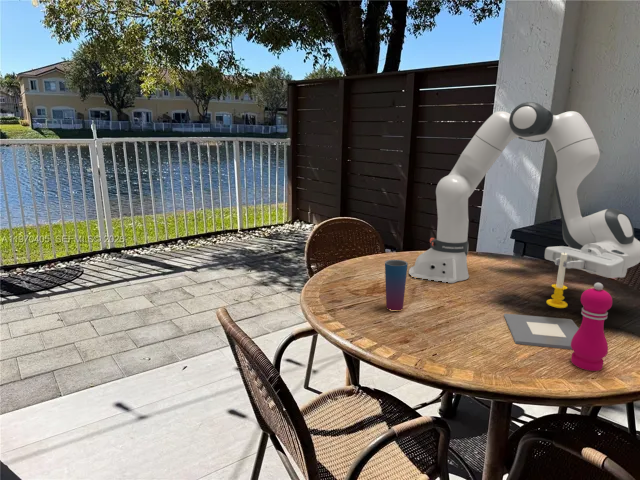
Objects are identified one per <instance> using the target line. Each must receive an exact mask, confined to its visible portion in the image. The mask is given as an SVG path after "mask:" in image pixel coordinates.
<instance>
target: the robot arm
mask: <svg viewBox="0 0 640 480" xmlns="http://www.w3.org/2000/svg"><path fill="white" fill-rule="evenodd" d="M517 138H518V139H519V140H524V141H529V142H535V143H539V142H543V141H546V140H548V141H549V143H550V144H551V146H552V149H553V151H554V154H555V157H556V163H557V168H556V169H557V170H556V174H555V176H554V180H553V181H554V188H555V189H554V190H555V194H556V198H557V204H558V209H559V215H560V217H561V225H562V227H561V228H562V238H563V241H564V243H565V244H566V245H568V246H564V245H559V246H558V245H557V246H547V247H546V248H545V250H544V260H547V261H551V262H553V263H554V264H555V266H559V265H560V257H561V253H564V252H565V253H567V261H564V265H563V267H565V268H566V269H575V270H576V269H577V270H581V271H584V272H587V273H588V274H591V275H597V276H601V277H603V278H608V279H613V278H620V279H621V278H625V277H626V275H627V272H628V269H629V268H632V267H634V266H636V265H638V264H639V263H640V240H638V238H636V237H635V229H634V226H633V225H634V224H633V223H632V219H630V217H629V215H627V214H626V213H625V212H623V211H622V210H620V209H617V208H614V207H610V208H606V209H603V210H599V211H598V212H595V213H592V214H589V215H586V216H582V213H581V209H580V203H579V199H578V188H579V187H580V184H581V183H582V182H583V180H584V179H585V178H586V177H587V176H588V175H589V174H590V173H591V172H592V171H593V170H594V169H595V168H596V166H597V165H598V162H599V161H600V155H601V154H600V148H599V145H598V143H597V140H596V137H595V136H594V133H593V132H592V129H591V127H590V126H589V124H588V123H587V121H586V119H585V118H584V117H583V115H582V114H580V112H577V111H575V110H574V111H573V110H571V111H566V112H562V113H560V114H557V115H555V114H554V113H553V112H552V111H551V110H550V109H548V108H547V107H546V106H544V105H541V104H540V103H538V102H534V101H526V102H522V103H520V104H518V105H517V106H515V107H514V109H513V110H511V112H510V113H509V112H507V111H505V110H504V111H503V110H497V111H495V112H494V113H492V114H491V115H490V116H489V117H488V118H487V119H486V120H485V121H484V122H483V123H482V125H481V126H480V127H479V128H478V130H477V131H476V132H475V134H474V135H473V137H472V138H471V140H470V141H469V142H468V143H467V145H466V146H465V148H464V150H463V151H462V152H461V154H460V156H459V157H458V159H457V161H456V163H455V165H454V166H453V168H452V169H451V171H450V172H449V174H448V175H446V176H444V177H442V178H440V180H439V181H438V183H437V185H436V188H435V196H436V209H437V210H436V212H437V213H436V214H437V229H436V238H435V237H430V239H429V243H430V248H429V249H427V250H425V251H424V252H422V253H421V254H419V255H418V256H417V257H416V260H415V263H414V265H413V266H411V267H410V268H409V270H408V275H409V274H410V275H411V276H413V277H417V278H422V279H421V280H423V279H428V280H427V281H431V280H434V281H433V282H438V281H442V282H441V283H446V282H448V284H454V283H457V282H461V281H465V280H467V279H469V278H470V275H469V270H468V262H467V261H468V260H467V259H468V258H467V257H468V253H469V240H468V234H469V222H470V221H469V198H470V197H471V195H472V194H473V193H474V192H475V190H476V188H478V186H479V184H480V183H481V182H482V180H483V179H484V178H485V176H486V175H487V173H488V171H489V170H490V169H491V168H492V166H493V165H494V164H495V162H496V161H497V159H498V158H499V157H500V156H501V155H502V153H503V151H505V149H506V148H507V146H508V145H509V144H510V143H511V141H513V140H515V139H517Z"/></svg>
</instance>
